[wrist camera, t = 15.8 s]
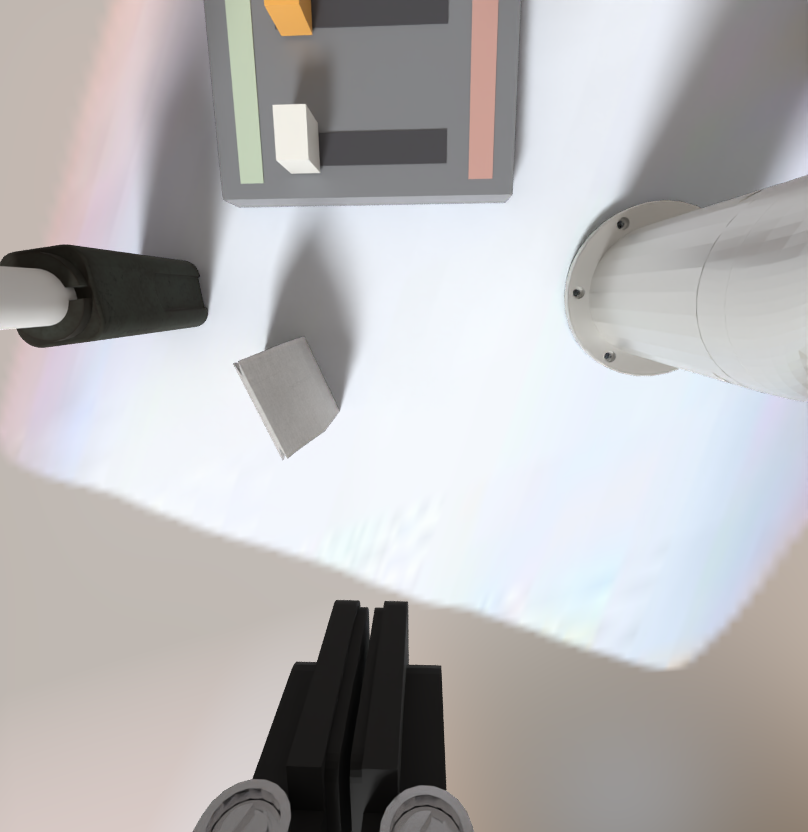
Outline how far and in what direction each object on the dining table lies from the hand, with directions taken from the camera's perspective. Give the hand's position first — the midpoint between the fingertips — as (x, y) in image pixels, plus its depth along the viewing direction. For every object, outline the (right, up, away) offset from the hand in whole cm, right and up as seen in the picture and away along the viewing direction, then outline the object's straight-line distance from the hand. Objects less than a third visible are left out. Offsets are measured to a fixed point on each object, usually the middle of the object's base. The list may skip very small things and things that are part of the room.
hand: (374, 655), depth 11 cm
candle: (-18, +15, +27) cm, 36 cm away
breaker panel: (-2, +28, +23) cm, 36 cm away
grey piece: (-8, +8, +29) cm, 31 cm away
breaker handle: (-6, +31, +19) cm, 37 cm away
